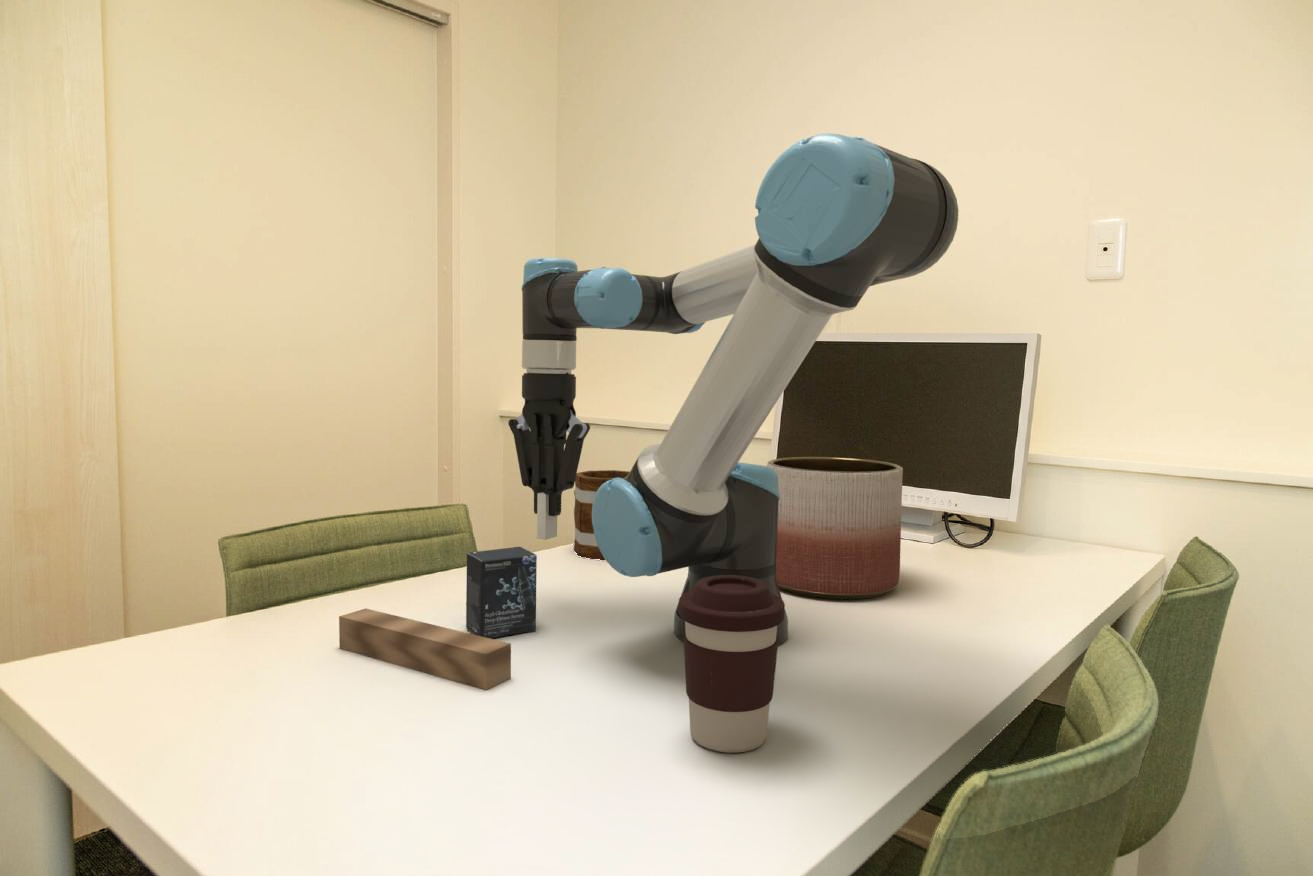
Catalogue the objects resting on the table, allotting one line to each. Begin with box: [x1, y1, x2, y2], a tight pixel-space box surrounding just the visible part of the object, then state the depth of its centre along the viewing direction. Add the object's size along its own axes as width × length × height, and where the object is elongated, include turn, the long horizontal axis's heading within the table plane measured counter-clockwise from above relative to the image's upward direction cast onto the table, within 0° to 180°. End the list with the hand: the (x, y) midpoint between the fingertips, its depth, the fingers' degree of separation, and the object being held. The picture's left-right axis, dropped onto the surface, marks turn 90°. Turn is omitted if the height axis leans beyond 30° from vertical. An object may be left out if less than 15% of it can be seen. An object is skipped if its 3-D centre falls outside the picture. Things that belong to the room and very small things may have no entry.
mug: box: [573, 469, 630, 561], centre depth 150 cm, size 20×14×15 cm
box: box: [465, 546, 538, 639], centre depth 106 cm, size 8×6×11 cm
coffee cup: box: [678, 575, 786, 754], centre depth 76 cm, size 10×10×15 cm
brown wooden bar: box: [338, 607, 512, 691], centre depth 95 cm, size 24×4×4 cm, turn 59°
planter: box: [766, 456, 904, 600], centre depth 133 cm, size 22×22×20 cm
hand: (547, 537), depth 115 cm, fingers closed
